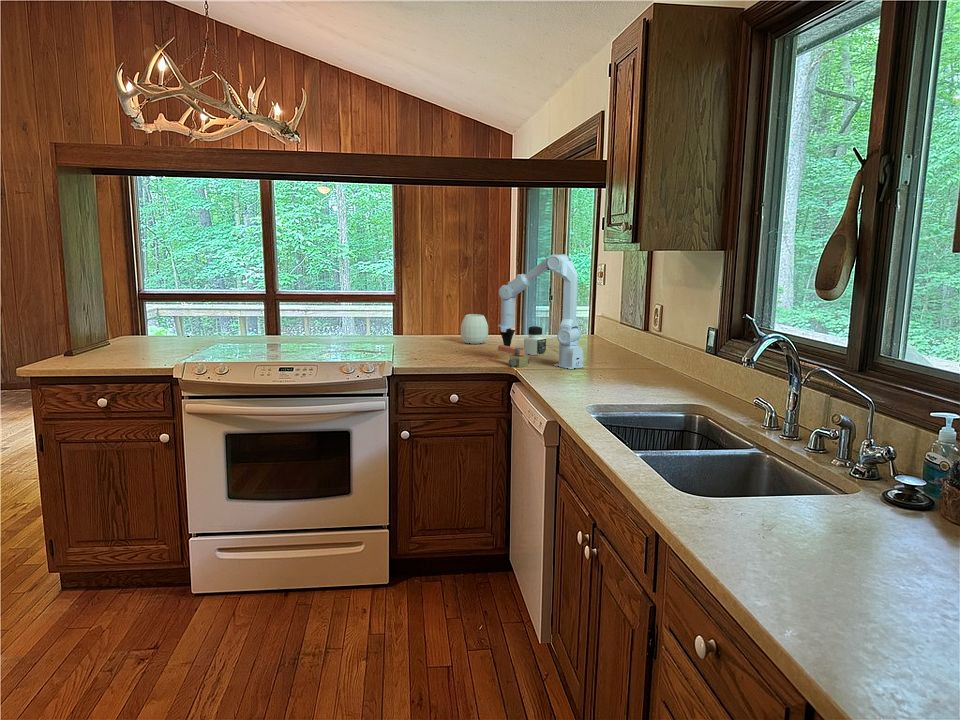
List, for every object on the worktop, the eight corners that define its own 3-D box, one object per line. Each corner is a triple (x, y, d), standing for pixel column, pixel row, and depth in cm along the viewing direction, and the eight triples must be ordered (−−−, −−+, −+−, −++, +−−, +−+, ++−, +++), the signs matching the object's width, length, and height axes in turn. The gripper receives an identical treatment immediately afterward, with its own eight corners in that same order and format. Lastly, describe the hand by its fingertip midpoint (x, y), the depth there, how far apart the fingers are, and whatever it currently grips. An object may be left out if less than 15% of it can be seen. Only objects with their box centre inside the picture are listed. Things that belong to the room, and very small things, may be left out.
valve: (531, 366, 268) (531, 355, 267) (515, 368, 264) (515, 357, 263) (521, 363, 273) (522, 353, 272) (506, 365, 268) (506, 355, 268)
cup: (454, 343, 324) (455, 315, 322) (471, 340, 335) (472, 313, 332) (476, 346, 317) (477, 317, 314) (493, 343, 327) (494, 315, 325)
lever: (525, 355, 267) (525, 349, 266) (518, 355, 265) (519, 349, 265) (503, 350, 278) (503, 344, 278) (497, 350, 276) (497, 344, 276)
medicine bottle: (537, 355, 292) (537, 328, 290) (523, 354, 297) (524, 326, 294) (546, 353, 298) (546, 326, 296) (532, 352, 302) (532, 325, 300)
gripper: (502, 312, 286) (501, 344, 289) (493, 315, 273) (493, 349, 275) (518, 313, 285) (518, 345, 287) (510, 316, 271) (510, 350, 273)
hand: (507, 347), depth 281 cm, fingers closed
